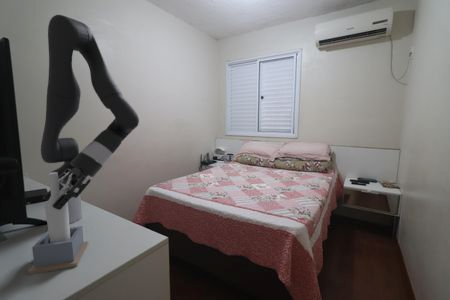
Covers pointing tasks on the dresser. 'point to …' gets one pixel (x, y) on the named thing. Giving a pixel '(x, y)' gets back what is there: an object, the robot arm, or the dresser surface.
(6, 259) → the dresser surface
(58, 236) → the bottle
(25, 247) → the dresser surface
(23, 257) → the dresser surface
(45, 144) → the robot arm
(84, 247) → the sleeve
